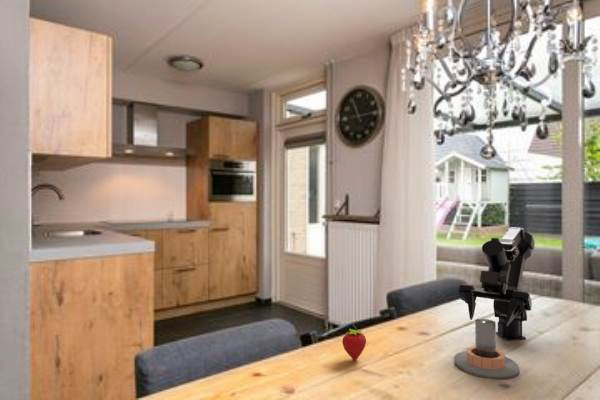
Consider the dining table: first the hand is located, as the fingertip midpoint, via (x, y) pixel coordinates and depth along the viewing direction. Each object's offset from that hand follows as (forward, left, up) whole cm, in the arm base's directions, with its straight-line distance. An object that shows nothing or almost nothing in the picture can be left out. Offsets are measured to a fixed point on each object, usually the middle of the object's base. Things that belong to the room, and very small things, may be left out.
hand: (488, 322), depth 109 cm
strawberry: (+36, -8, -11) cm, 39 cm away
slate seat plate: (+2, +2, -11) cm, 11 cm away
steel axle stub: (+2, +2, -10) cm, 11 cm away
